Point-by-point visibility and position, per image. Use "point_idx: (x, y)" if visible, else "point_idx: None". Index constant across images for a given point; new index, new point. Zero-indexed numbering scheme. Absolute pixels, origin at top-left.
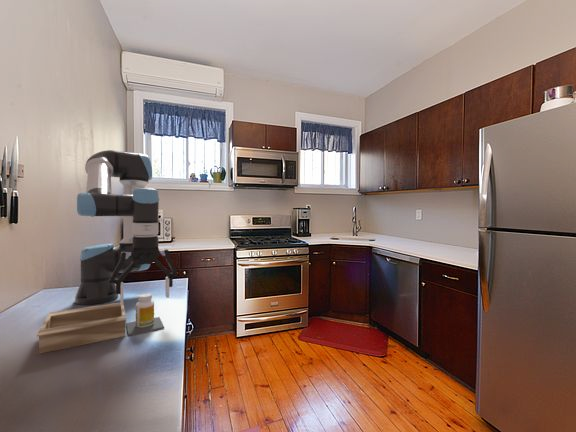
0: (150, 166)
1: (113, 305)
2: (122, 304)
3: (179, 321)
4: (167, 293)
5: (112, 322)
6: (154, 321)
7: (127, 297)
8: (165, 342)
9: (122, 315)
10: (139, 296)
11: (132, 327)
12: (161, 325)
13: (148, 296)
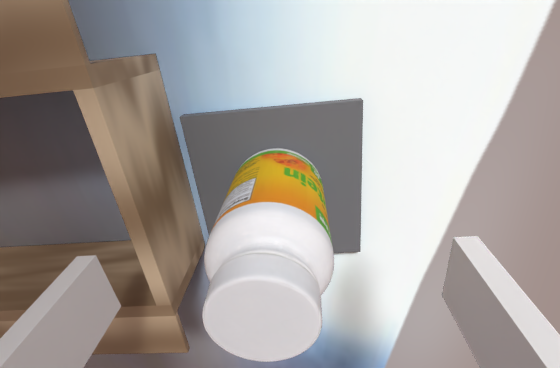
0: None
1: (3, 58)
2: (113, 307)
3: (448, 194)
4: (467, 332)
5: (134, 351)
6: (326, 165)
7: None
8: (342, 343)
9: (155, 301)
10: (215, 337)
11: (221, 197)
12: (352, 231)
13: (291, 355)
